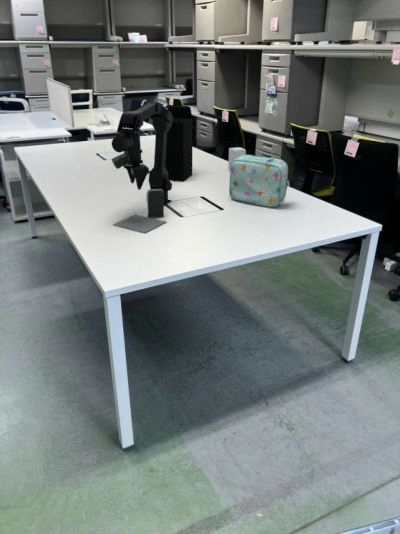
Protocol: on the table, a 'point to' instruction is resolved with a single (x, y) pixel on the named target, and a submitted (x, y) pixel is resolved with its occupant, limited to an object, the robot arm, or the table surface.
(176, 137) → the video game console
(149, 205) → the battery charger
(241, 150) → the supplement box
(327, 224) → the table surface
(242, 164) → the lunch box
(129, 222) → the mat
